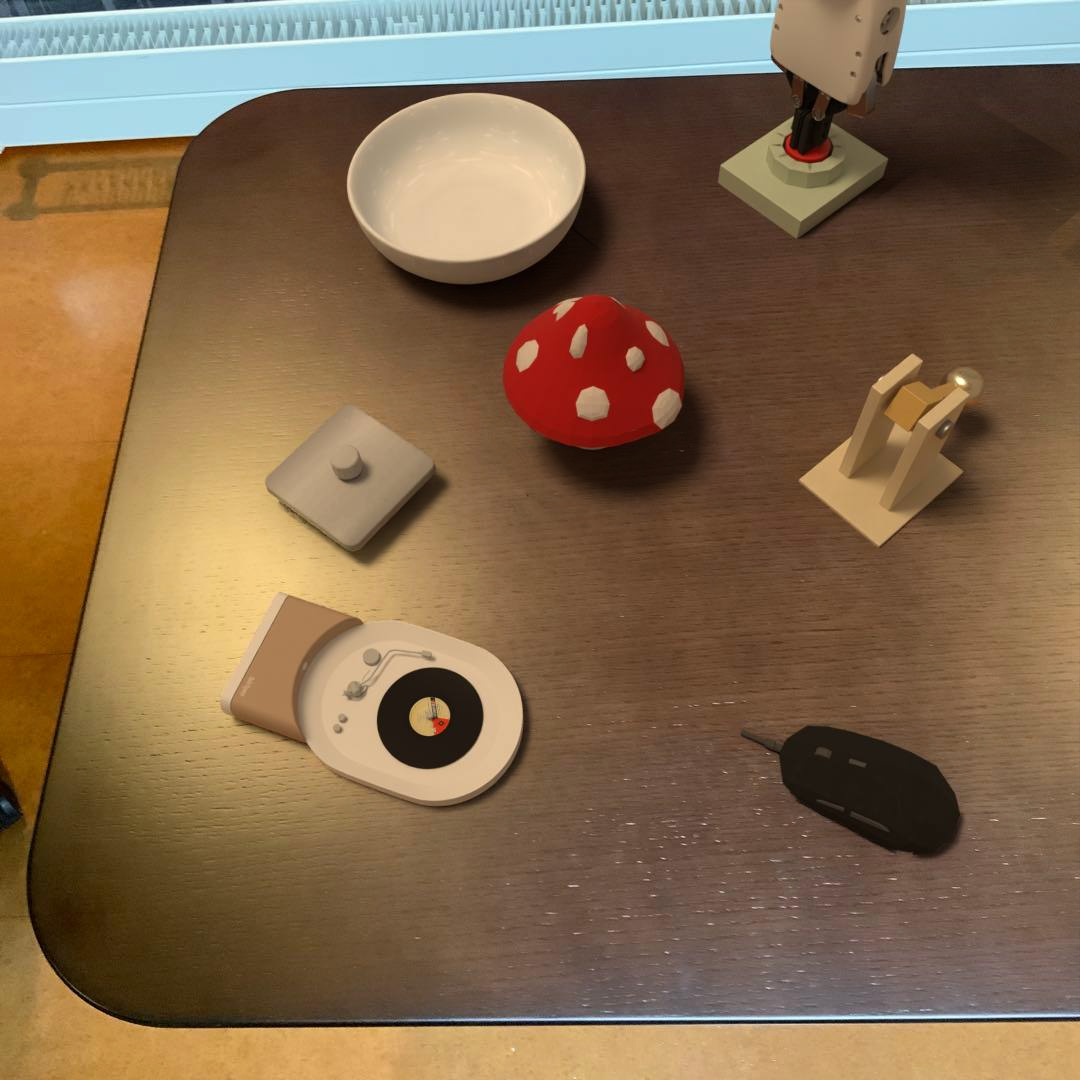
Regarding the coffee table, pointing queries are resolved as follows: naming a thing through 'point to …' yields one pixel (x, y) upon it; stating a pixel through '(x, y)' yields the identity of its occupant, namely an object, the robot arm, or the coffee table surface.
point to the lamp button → (809, 153)
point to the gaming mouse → (869, 787)
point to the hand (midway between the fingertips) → (806, 143)
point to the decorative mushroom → (594, 374)
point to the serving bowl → (467, 186)
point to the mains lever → (933, 396)
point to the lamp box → (800, 178)
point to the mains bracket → (888, 461)
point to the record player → (380, 701)
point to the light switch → (350, 477)
